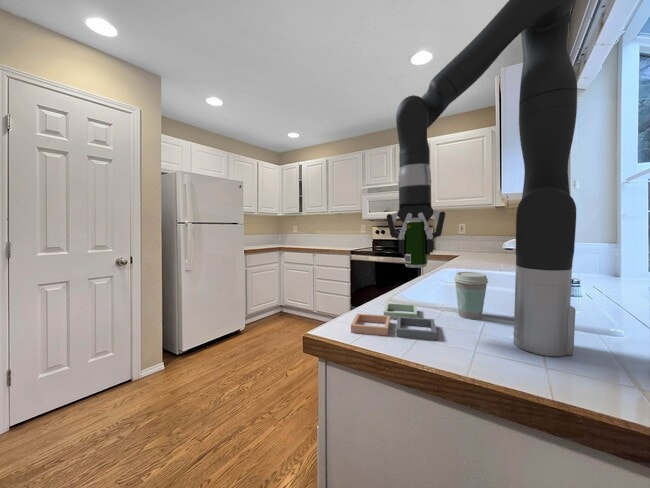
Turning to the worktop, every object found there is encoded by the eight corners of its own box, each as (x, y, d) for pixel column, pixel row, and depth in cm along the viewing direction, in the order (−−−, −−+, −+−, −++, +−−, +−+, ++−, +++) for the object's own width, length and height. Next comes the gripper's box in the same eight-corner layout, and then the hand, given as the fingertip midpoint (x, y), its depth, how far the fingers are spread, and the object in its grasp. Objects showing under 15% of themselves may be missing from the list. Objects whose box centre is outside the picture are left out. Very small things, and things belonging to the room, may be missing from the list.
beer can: (417, 268, 66) (416, 217, 65) (400, 266, 70) (399, 218, 70) (431, 266, 69) (431, 217, 68) (414, 264, 73) (413, 218, 72)
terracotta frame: (390, 322, 76) (390, 316, 76) (387, 335, 67) (387, 328, 67) (357, 319, 78) (357, 313, 78) (350, 332, 70) (350, 325, 70)
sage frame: (416, 310, 85) (416, 304, 85) (417, 320, 77) (417, 314, 76) (386, 308, 88) (386, 302, 88) (383, 318, 79) (383, 311, 79)
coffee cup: (456, 309, 86) (457, 270, 85) (488, 314, 81) (489, 273, 80) (450, 317, 79) (451, 275, 78) (485, 323, 74) (486, 278, 73)
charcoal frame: (433, 325, 73) (433, 319, 72) (436, 340, 64) (436, 332, 64) (397, 323, 75) (397, 316, 75) (396, 336, 67) (396, 329, 66)
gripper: (444, 185, 70) (445, 252, 71) (386, 189, 74) (387, 253, 75) (448, 181, 62) (448, 256, 64) (383, 186, 67) (384, 256, 68)
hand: (415, 254), depth 69 cm, fingers closed on beer can, 5 cm apart
